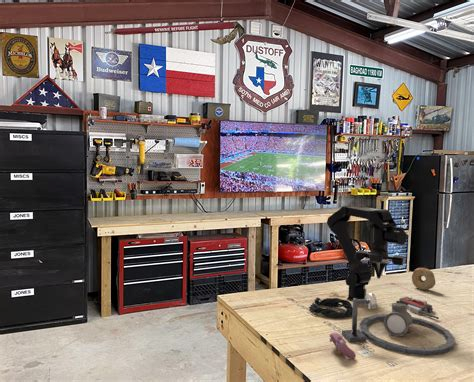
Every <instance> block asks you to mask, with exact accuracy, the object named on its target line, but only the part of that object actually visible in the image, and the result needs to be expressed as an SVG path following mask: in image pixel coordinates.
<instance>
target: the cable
mask: <svg viewBox="0 0 474 382" xmlns="http://www.w3.org/2000/svg"><path fill="white" fill-rule="evenodd" d="M324 307H325V308H324ZM342 307H343V308H344V309H345V311H337V310H335V309H332V308H342ZM308 308H309V311H310V312H311V313H315V314H317V315H319V314H320V315H323V317H324V316H325V317H327V318H347V317H348V318H349V317H351V316H352V314H353V304H352V303H351V302H350V300H348V299H342V298H338V297H332V298H331V297H329V298H328V297H327V298H324V299H321V298H319V297H316V298H315V299H314V301H313V302H312V303H311V304H310V306H308Z"/></svg>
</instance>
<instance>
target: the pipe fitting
mask: <svg viewBox="0 0 474 382" xmlns="http://www.w3.org/2000/svg"><path fill="white" fill-rule="evenodd" d="M390 306H391V312H389V313H387V314H388V315H386V317H385V319H384V320H383V325H384V328H385V330H386V331H387V333H388V334H389V335H392V336H394V337H403V336H404V335H406V334H407V333H408V331H409V329H410V326H412V324H413V323H412V321H413V319H412V317H413V316H412V314H411V313H410V312H409V311H408V308H407V305H406V304H403V303H396V302H393V303H391V305H390Z"/></svg>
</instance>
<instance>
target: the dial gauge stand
mask: <svg viewBox="0 0 474 382" xmlns="http://www.w3.org/2000/svg"><path fill="white" fill-rule="evenodd" d="M364 304H365V306H366V308H367V309H368V310H373V309H376V307H377V304H378V303H377V297H376V295H375V294H374V293H366V296H365V299H357V298H353V300H352V307H353V314H352V315H351V316H352V317H351V319H352V320H351V329H345V330H341V336H342V337H343V338H344V339H346V340H347V342H348V343H354V342H355V343H359V342H367V341H368V339H367V337H366V336H365V335H364V334H363V333H362V332H361V331H360V329H358V310H359V309H358V308H359V305H364Z"/></svg>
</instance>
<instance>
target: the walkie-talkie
mask: <svg viewBox="0 0 474 382" xmlns="http://www.w3.org/2000/svg"><path fill="white" fill-rule="evenodd" d="M395 303H403V304H406V305H407V308H406V309H407V311H408V312H409V313H410V312H412V313H413V314H416V315H424V316H427V317H429V318H433V319H436V320H439V317H438V316H436V315H434V314H432V313H431V312H433V311H434V310H433V309H434V308H433V305H432V304H430V303H428V302H427V301H426V300H424V299H421V298H418V297H417V298H413V297H412V296H410V297H409V296H403V297H400V298H399V300H396V301H395ZM430 313H431V314H430Z"/></svg>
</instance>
